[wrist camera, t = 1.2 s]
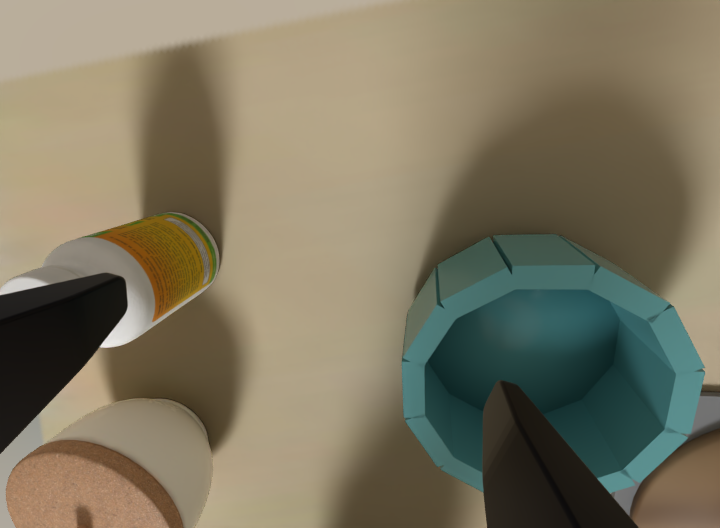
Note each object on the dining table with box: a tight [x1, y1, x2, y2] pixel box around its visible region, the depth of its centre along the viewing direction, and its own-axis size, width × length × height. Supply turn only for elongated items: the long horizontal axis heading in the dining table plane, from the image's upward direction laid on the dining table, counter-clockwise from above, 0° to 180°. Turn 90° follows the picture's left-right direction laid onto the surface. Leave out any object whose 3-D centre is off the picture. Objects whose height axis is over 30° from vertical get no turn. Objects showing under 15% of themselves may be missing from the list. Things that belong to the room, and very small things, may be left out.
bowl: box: [402, 234, 705, 493], centre depth 20 cm, size 12×12×6 cm
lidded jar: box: [6, 398, 213, 528], centre depth 25 cm, size 11×11×9 cm
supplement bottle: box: [0, 212, 219, 348], centre depth 20 cm, size 5×5×10 cm
